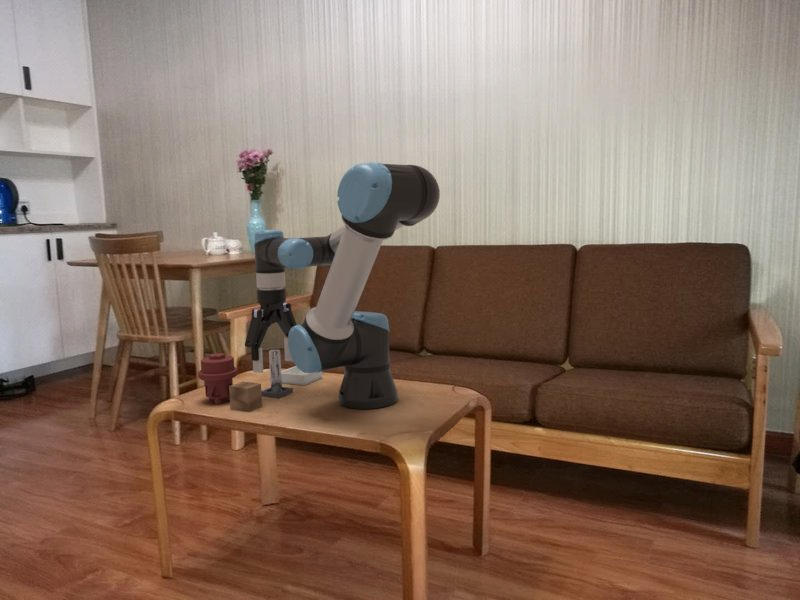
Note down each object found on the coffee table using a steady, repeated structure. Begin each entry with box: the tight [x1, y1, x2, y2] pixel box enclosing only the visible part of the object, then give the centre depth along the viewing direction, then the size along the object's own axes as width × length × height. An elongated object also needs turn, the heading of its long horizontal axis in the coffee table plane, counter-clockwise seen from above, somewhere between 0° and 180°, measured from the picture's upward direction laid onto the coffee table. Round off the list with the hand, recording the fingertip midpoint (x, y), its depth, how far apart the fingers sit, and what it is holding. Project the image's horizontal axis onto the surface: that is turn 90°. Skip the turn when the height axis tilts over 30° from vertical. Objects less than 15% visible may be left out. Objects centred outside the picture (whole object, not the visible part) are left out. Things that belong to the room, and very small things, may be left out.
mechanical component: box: [197, 352, 239, 405], centre depth 164 cm, size 12×10×10 cm
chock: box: [229, 381, 263, 413], centre depth 157 cm, size 6×5×6 cm
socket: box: [261, 386, 294, 399], centre depth 169 cm, size 6×6×1 cm
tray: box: [281, 365, 323, 387], centre depth 183 cm, size 9×9×3 cm
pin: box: [268, 349, 283, 393], centre depth 169 cm, size 3×3×12 cm
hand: (274, 366), depth 169 cm, fingers open, 13 cm apart
